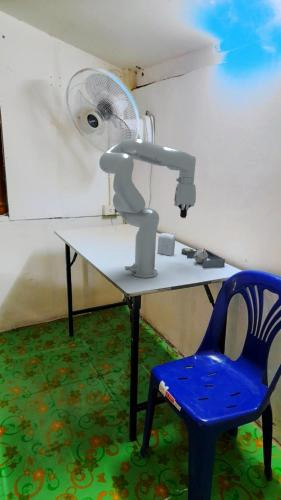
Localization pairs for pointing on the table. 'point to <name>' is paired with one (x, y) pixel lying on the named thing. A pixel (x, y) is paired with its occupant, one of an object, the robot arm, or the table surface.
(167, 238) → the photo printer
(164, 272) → the table surface
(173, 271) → the table surface
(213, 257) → the chassis bay
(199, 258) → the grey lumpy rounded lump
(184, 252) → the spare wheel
